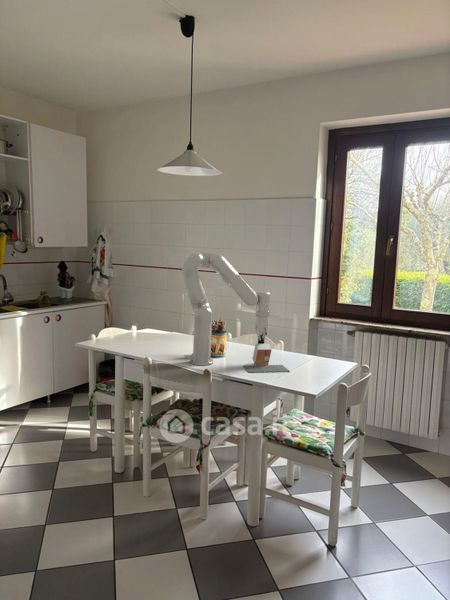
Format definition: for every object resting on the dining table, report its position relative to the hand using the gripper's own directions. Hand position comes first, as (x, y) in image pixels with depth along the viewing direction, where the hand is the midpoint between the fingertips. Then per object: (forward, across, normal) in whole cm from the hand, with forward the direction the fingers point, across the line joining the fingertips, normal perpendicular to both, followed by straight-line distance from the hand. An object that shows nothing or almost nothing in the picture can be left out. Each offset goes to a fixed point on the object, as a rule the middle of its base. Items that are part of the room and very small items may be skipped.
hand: (260, 347), depth 245 cm
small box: (+8, 0, 0) cm, 8 cm away
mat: (+9, +11, 0) cm, 15 cm away
